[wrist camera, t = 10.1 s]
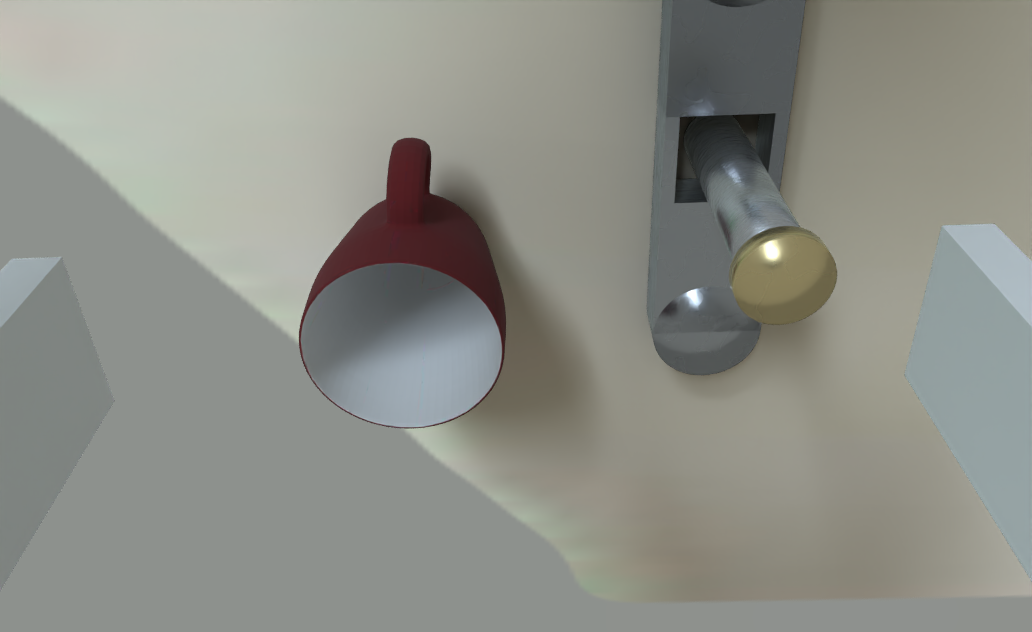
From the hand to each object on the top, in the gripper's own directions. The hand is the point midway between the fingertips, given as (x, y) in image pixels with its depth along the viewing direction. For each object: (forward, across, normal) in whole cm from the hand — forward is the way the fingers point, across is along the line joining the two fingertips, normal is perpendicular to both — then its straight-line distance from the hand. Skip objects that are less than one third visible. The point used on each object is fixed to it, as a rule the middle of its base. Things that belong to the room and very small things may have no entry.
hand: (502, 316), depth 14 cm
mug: (+27, -5, -11) cm, 29 cm away
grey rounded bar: (+27, +9, -8) cm, 29 cm away
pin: (+27, +9, -8) cm, 29 cm away
